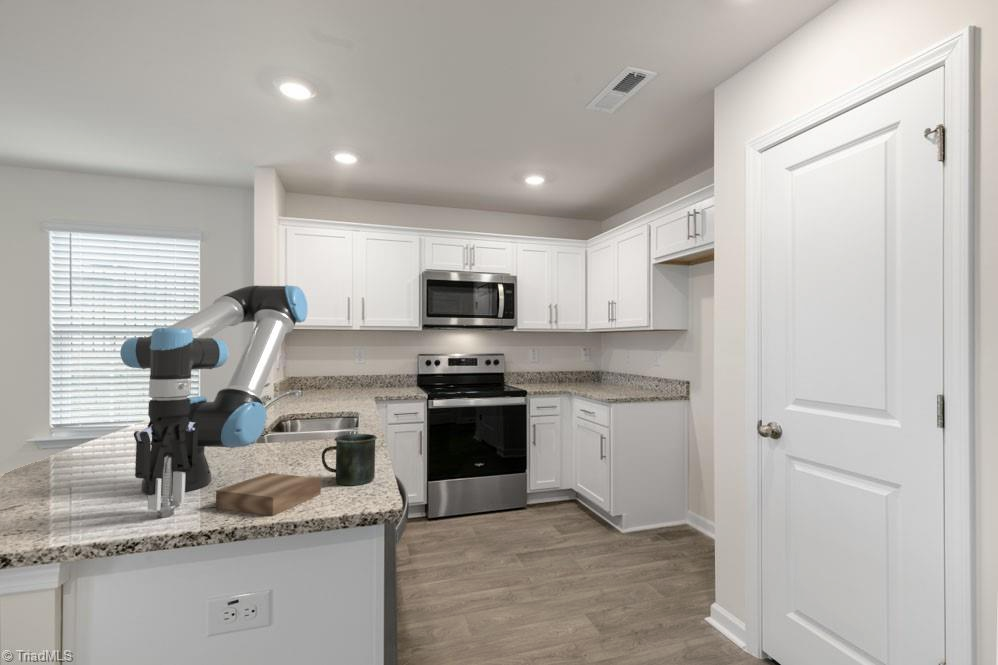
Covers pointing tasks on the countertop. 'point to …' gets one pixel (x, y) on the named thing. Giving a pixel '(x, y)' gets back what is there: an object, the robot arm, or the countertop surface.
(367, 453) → the mug
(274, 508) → the wooden block
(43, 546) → the countertop surface
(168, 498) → the screw
